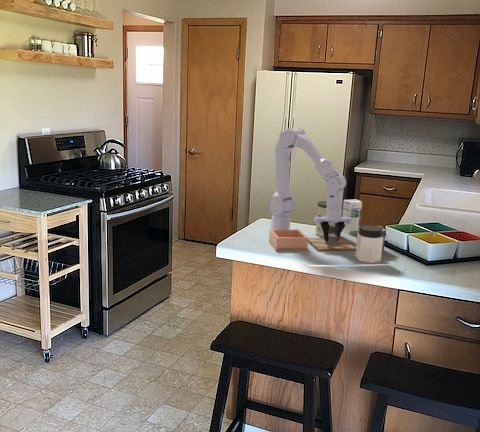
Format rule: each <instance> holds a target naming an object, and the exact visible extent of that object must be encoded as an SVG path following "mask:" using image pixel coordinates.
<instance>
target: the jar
mask: <svg viewBox="0 0 480 432" xmlns="http://www.w3.org/2000/svg"><path fill="white" fill-rule="evenodd" d="M383 229H384V228H382V227H381V228H380V227H378V225H376V226H375V225H371V224H369V225H367V224H365V225H360V228H359V233H357V239H356V240H357V241H356V247H355V248H356V251H355V258H356V259H357V260H358V261H361V262H366V263H370V264H373V263H377V262H381V261H382V260H381V259H382V253H383V252H382V245H383V237H382V234H383Z"/></svg>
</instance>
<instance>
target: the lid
mask: <svg viewBox="0 0 480 432" xmlns="http://www.w3.org/2000/svg"><path fill="white" fill-rule="evenodd" d="M308 242H309V243H310V244H311V245H312V246H313V247H314V248H316V249H317V250H318V251H337V252H356V248H357V247H355V246H354V245H352V244H351V243H350V242H349V241H348V240H346V239H344V238H343V237H339V239H338V241H337V236H336V235H335V234H328V241H325V240H324V238H323V237H308ZM309 243H308V244H309ZM310 244H309V245H310ZM311 245H310V246H311ZM312 246H311V247H312ZM313 247H312V248H313ZM314 248H313V249H314Z"/></svg>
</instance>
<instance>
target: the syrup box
mask: <svg viewBox="0 0 480 432" xmlns="http://www.w3.org/2000/svg"><path fill="white" fill-rule="evenodd" d="M342 204H343V207H342V217H350V218H352V223H344V224H345V227H344V229H343V230H342V232H344V233H345V234H347V235H354V234H355V235H356V234H357V235H358V233H359V228H360V226H361V221H362V211H363V208H362V207H363V202H362V200H360V199H344V200H343V203H342Z"/></svg>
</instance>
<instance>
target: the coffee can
mask: <svg viewBox="0 0 480 432" xmlns="http://www.w3.org/2000/svg"><path fill="white" fill-rule="evenodd" d="M343 204H344V203H342V209H341V217H343ZM326 207H327V200H325V201H324V200H321V201H318V202H317V210H316V211H317V212H316V213H317V214H316V217H323V216H326ZM315 224H316V226H315V236H317V237H318V238H324V233H323V230H322V227H321V224H320V223H315ZM328 224H329V225H330V228H329V234H335V223H328ZM340 236H341V235H340ZM340 236H339V238H341V237H340Z"/></svg>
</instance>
